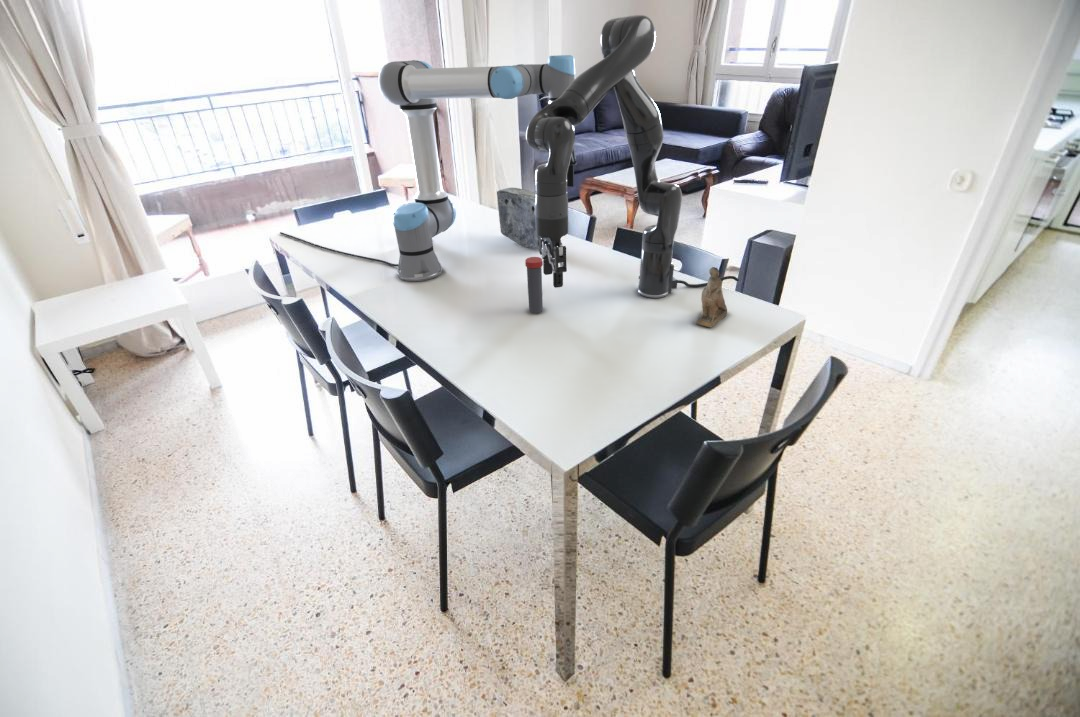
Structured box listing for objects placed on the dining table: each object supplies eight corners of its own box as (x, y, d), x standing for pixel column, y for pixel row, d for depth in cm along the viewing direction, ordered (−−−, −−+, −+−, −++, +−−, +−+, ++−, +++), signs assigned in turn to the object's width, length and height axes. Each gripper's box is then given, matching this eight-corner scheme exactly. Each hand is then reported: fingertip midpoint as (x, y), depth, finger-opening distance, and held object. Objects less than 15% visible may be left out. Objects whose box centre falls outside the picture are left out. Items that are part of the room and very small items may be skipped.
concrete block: (555, 250, 192) (555, 197, 181) (537, 255, 188) (535, 201, 177) (517, 234, 210) (514, 185, 200) (499, 238, 206) (496, 189, 196)
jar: (528, 313, 146) (525, 263, 138) (529, 307, 150) (527, 258, 141) (542, 314, 146) (540, 264, 138) (543, 308, 149) (541, 258, 141)
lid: (524, 268, 138) (524, 262, 137) (526, 262, 142) (526, 256, 142) (541, 268, 138) (541, 262, 137) (543, 262, 142) (543, 256, 141)
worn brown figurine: (709, 335, 136) (713, 280, 124) (691, 329, 139) (693, 274, 128) (730, 313, 142) (736, 258, 130) (712, 307, 145) (716, 253, 133)
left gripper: (560, 121, 134) (561, 201, 145) (586, 112, 154) (585, 183, 165) (534, 121, 137) (537, 200, 148) (563, 112, 156) (564, 181, 167)
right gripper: (577, 219, 107) (577, 289, 116) (558, 204, 119) (558, 268, 128) (544, 223, 106) (546, 293, 114) (527, 207, 118) (530, 272, 126)
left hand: (562, 191), depth 156 cm, fingers open, 13 cm apart
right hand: (552, 280), depth 121 cm, fingers open, 8 cm apart
